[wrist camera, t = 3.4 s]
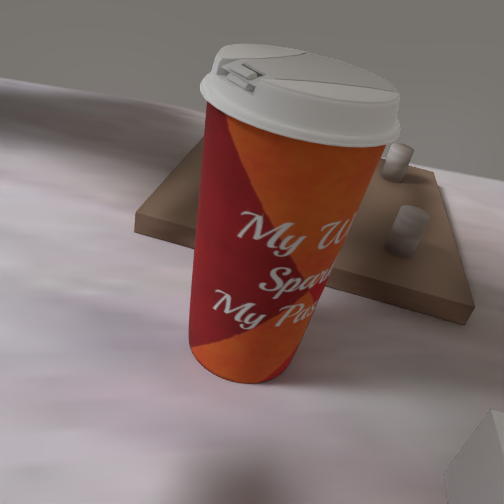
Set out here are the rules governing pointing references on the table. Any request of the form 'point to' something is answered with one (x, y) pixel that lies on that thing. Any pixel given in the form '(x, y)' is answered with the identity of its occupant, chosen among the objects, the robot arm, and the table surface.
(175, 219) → the peg holder
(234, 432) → the table surface
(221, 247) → the paper cup
